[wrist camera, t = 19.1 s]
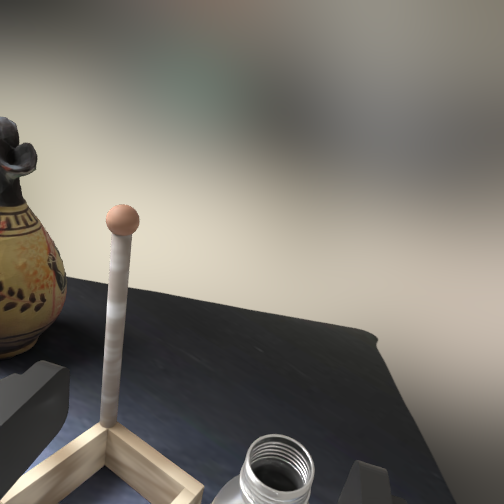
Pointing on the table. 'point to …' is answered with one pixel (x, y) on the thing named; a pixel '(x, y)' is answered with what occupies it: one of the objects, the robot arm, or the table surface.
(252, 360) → the table surface
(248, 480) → the plastic bottle
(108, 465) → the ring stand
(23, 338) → the ceramic jug
